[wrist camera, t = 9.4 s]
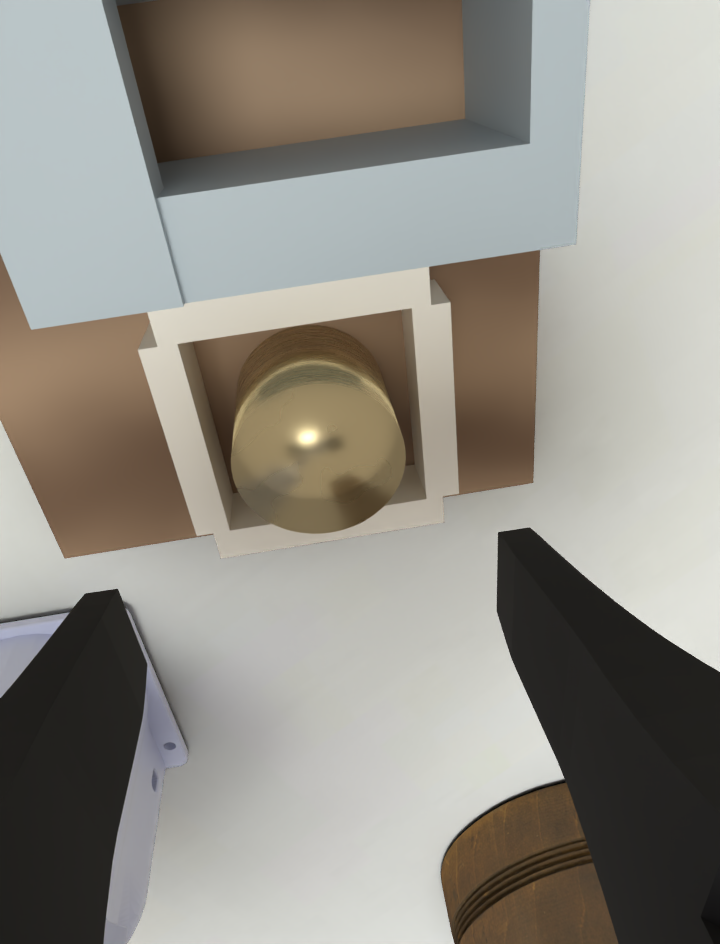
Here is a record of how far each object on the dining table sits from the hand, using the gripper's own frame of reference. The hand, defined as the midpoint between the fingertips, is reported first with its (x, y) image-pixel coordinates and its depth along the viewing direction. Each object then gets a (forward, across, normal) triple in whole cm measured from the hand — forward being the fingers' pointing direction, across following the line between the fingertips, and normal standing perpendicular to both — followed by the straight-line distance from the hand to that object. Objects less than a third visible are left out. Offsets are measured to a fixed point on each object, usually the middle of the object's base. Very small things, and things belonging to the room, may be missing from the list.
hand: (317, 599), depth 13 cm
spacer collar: (+9, 0, 0) cm, 9 cm away
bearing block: (+9, 0, -8) cm, 12 cm away
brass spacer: (+9, 0, 0) cm, 9 cm away
